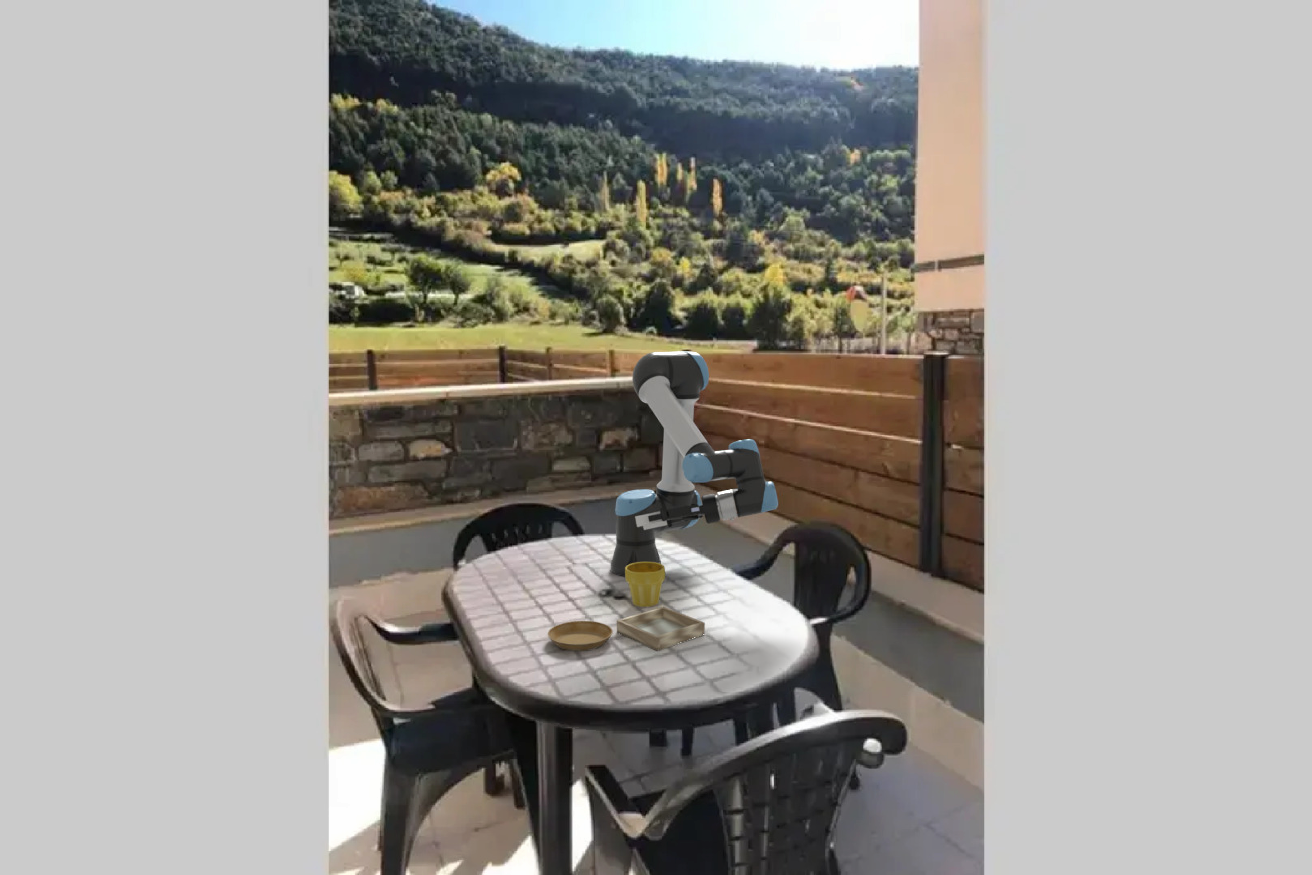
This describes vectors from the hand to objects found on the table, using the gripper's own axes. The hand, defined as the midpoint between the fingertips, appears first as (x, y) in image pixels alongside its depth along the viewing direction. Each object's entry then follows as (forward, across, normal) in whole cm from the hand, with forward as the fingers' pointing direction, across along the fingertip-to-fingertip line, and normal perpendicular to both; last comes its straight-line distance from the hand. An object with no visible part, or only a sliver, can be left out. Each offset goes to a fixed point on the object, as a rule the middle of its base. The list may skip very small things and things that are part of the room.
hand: (639, 523), depth 211 cm
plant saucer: (+16, -25, -26) cm, 40 cm away
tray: (-2, -19, -28) cm, 34 cm away
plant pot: (+3, +1, -21) cm, 21 cm away
